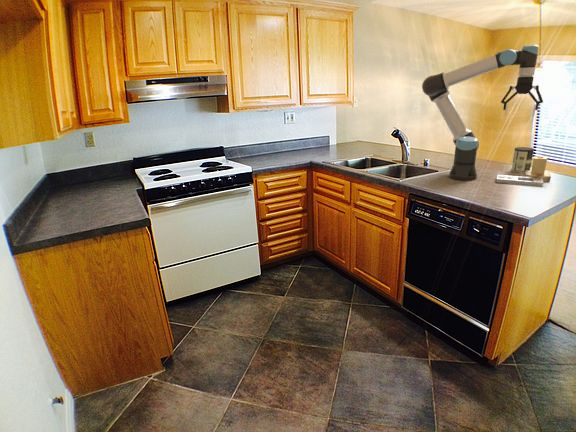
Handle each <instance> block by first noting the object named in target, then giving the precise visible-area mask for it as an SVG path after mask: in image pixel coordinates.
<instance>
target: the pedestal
mask: <svg viewBox="0 0 576 432" xmlns="http://www.w3.org/2000/svg"><path fill="white" fill-rule="evenodd" d="M523 174H524V175H523V177H535V178H542V180H543V182H547V181H550V182H551V178H552V175H551V173H550V171H545V172H544V175H539V174H531V169H530V170H525V173H523Z"/></svg>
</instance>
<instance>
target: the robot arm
mask: <svg viewBox="0 0 576 432" xmlns="http://www.w3.org/2000/svg"><path fill="white" fill-rule="evenodd" d="M538 55H539V45H537V44H535V45H533V44H532V45H523V46H522V48H521V49H518V50H514V49H512V48H508V49H506V50H501V51H497V53H495V54H493V55H490V56H488V57H485V58H482V59H480V60H477V61H474V62H472V63H469V64H467V65H464V66H461V67H459V68H457V69H454V70H451V71H448V72H441V73H438V74H437V73H436V74H433V75H429V76H427V77H426V78H424V80H423V81H422V85H421V88H422V92H423V93H424V95H426V96H428V98H429V100H430V101H431V102H432V103H434V104H435V105H436V106H437V109H438V110H439V112H440V114H441V116H442V118H443V120H444V121H445V123H446V125H447V127H448V129H449V130H450V132H451V134H452V135H453V139H452V142H453V143H454V145H455V146H454V147H455V149H454V158H453V164H452V167H451V169H450V171H449V173H448V178H449V179H452V180H457V181H473V180H474V181H475V180H476V179H478V178H477V177H478V174H477V169H476V161H477V153H478V150H479V148H480V146H479V145H480V143H479V140H478V138H477V137H476V136H475V135H474V132H473V131H472V130H470V129H468V128H467V126H466V123H465V122H464V120H463V118H462V117H461V115H460V113H459V111H458V109H457V106H455V104H454V101H453V100H452V98H451V95H450V92H451V91H450V89H449V88H450V87H452V86H455V85H457V84H460V83H462V82H465V81H469V80H471V79H473V78H474V79H475V78H476V77H479V76H481V75H485V74H487V73H490V72H493V71H495V70H499V69H501V68H504V67H506V66H518V67H519V68H518V74H517V76H518V77H517V79H516V85H510V86H509V88H508V89H509V90H508V91H507V92H506V94H505V95H504V96H503V98H502V99H501V101H500V103H501V104H503V108H502V109H503V111H504V117H507V114H508V113H507V112H508V106H509V104H508V103H509V102H510V101H511V100H512V99H513V98H514V97H516V96H517V95H518V94H519V95H527V94H528V95H529V96H530V97H531V99H532V100H533V101H534V102H535V103H534V105H533V109H532V116H531V117H535V113H536V111H538V110H539V105H540V104H543V103H544V100H543V97H542V95H541V92H540V90H539V87H540V85H539V84H537V85H533V84H534V76H535V71H536V66H537V60H538ZM532 89H534V90H535V92H536V95H537V98H538V99H537V98H536V97H535V95H534V94H533V92H532ZM513 90H515V92H514V93H513V94H512V95H511V96H510V97H509V98H507V97H508V96H509V95H510V93H511V91H513Z"/></svg>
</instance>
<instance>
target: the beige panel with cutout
mask: <svg viewBox="0 0 576 432" xmlns="http://www.w3.org/2000/svg"><path fill="white" fill-rule="evenodd" d="M495 182H496V183H499V184H512V185H523V186H534V187H535V186H536V187H543V185H544V181H543V180H542V178H535V177H524V176H523V175H522V176H521V175H520V176H519V175H508V174H507V175H505V174H497V175H496V181H495Z"/></svg>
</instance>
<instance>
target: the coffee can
mask: <svg viewBox="0 0 576 432" xmlns="http://www.w3.org/2000/svg"><path fill="white" fill-rule="evenodd" d="M534 151H535V149H534V148H532V147H528V146H527V147H526V146H525V147H524V146H523V147H522V146H519V147H518V146H517V147H514V151H513V152H514V153H513V159H512V163H511V164H512V165H511V170H510V171H511V172H513V173H522V174H525V170H530V171H531V169H532V164H533V158H534Z"/></svg>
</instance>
